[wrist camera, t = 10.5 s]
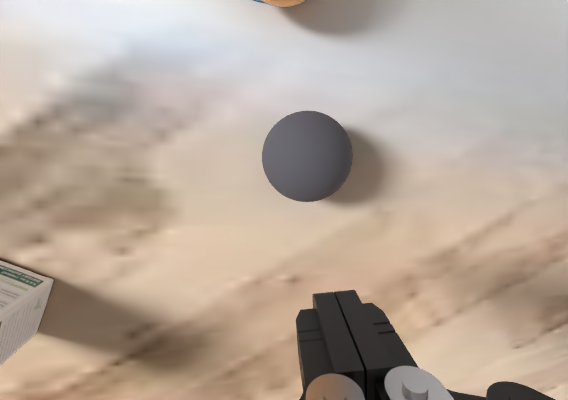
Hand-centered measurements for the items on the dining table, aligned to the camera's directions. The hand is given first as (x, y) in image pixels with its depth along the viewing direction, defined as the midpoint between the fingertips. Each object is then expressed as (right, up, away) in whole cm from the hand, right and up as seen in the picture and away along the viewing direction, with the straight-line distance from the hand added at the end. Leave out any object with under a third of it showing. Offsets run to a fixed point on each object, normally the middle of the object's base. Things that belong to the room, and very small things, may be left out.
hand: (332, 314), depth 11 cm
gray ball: (0, +7, +9) cm, 11 cm away
